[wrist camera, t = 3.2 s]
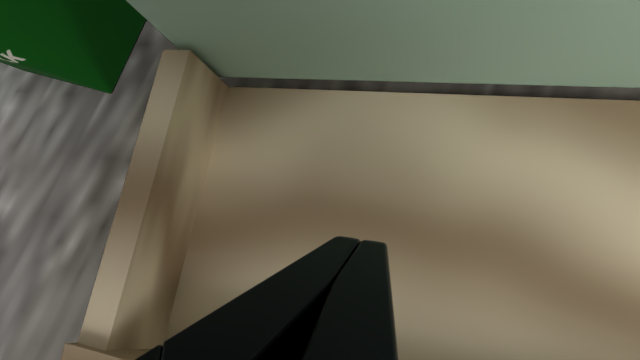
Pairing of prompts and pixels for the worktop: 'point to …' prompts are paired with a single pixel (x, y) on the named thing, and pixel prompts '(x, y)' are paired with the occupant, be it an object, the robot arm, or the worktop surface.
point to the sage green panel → (410, 39)
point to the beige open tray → (380, 214)
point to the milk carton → (70, 39)
